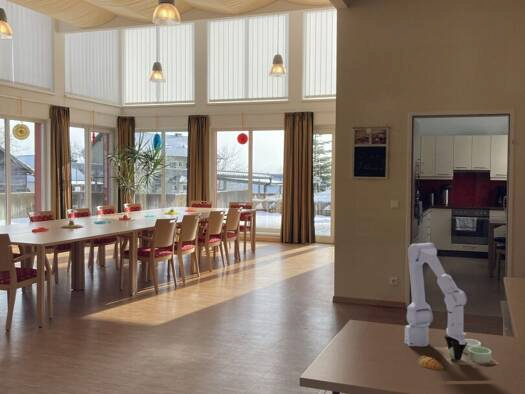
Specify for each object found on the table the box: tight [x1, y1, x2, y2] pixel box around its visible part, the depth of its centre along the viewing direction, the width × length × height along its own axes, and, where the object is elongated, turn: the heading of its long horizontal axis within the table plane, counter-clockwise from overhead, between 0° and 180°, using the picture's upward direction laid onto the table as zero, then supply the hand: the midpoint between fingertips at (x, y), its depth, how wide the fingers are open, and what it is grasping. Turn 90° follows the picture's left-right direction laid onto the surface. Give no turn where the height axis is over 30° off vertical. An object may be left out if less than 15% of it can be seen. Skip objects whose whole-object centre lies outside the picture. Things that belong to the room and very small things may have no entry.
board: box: [433, 346, 499, 366], centre depth 208 cm, size 18×20×1 cm
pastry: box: [417, 355, 444, 371], centre depth 197 cm, size 9×7×4 cm
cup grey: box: [463, 338, 482, 354], centre depth 213 cm, size 8×8×4 cm
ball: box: [448, 347, 455, 360], centre depth 204 cm, size 5×5×5 cm
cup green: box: [468, 346, 492, 363], centre depth 204 cm, size 8×8×4 cm
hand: (455, 356), depth 204 cm, fingers closed on ball, 5 cm apart
